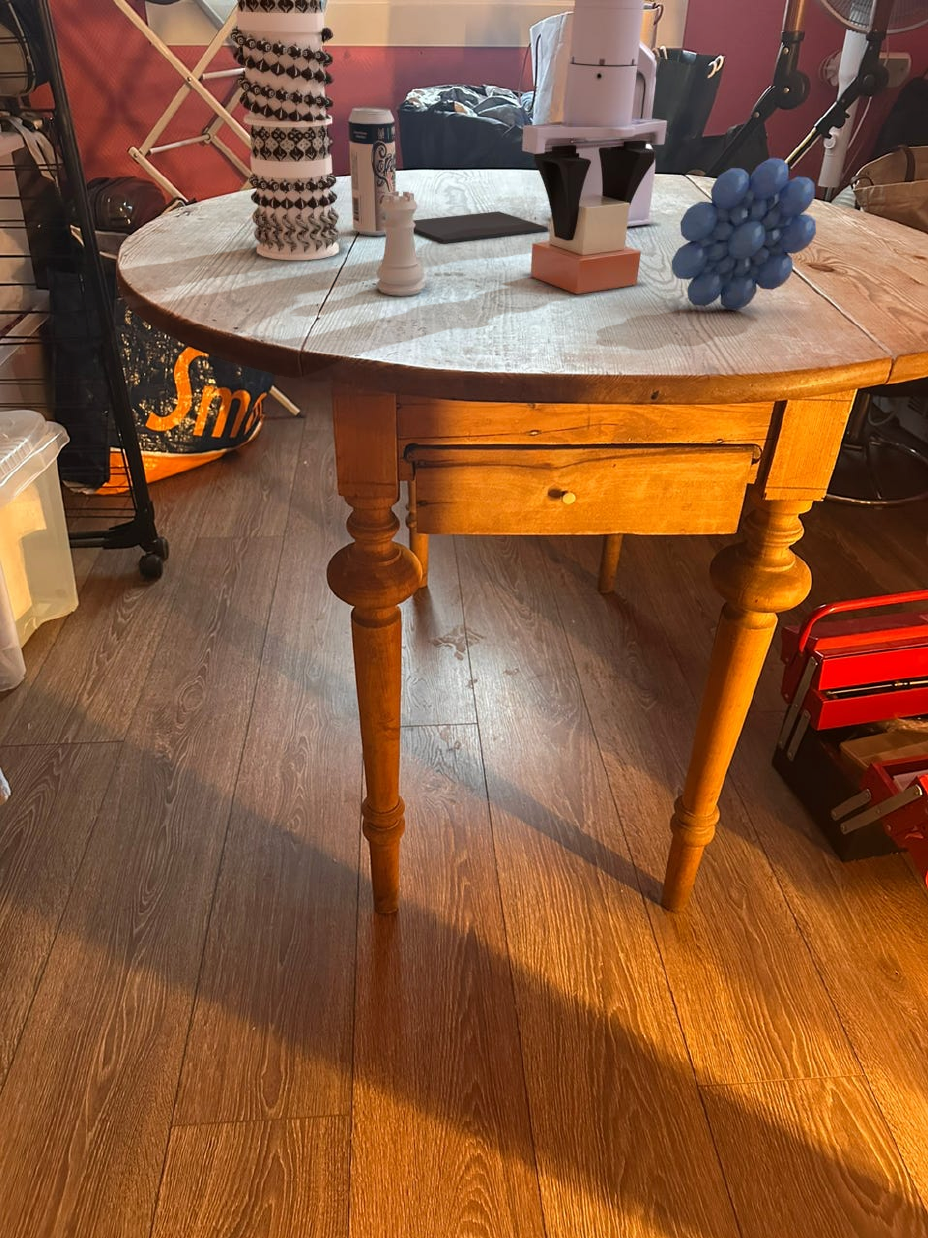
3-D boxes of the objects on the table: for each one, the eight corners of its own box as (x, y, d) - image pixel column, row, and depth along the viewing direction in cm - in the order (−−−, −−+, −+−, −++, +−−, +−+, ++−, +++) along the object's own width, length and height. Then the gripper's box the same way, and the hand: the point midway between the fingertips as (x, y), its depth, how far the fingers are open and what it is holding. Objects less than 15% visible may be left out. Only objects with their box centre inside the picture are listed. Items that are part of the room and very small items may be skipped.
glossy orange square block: (588, 267, 91) (591, 235, 90) (637, 284, 86) (641, 251, 85) (530, 275, 88) (532, 242, 86) (576, 294, 83) (579, 259, 81)
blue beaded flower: (782, 297, 84) (813, 151, 77) (806, 319, 78) (842, 163, 72) (655, 294, 84) (675, 147, 77) (671, 316, 78) (694, 160, 71)
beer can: (390, 238, 100) (387, 112, 93) (347, 235, 101) (342, 110, 94) (401, 228, 104) (399, 108, 97) (360, 226, 105) (355, 105, 98)
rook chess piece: (375, 283, 85) (372, 188, 80) (424, 283, 85) (423, 189, 81) (375, 296, 81) (372, 198, 77) (426, 296, 81) (426, 198, 77)
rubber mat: (498, 214, 112) (498, 211, 112) (547, 230, 105) (548, 227, 105) (397, 225, 105) (397, 221, 105) (443, 243, 99) (443, 239, 98)
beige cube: (590, 238, 88) (594, 193, 86) (624, 249, 85) (630, 202, 83) (548, 243, 86) (552, 197, 84) (582, 255, 83) (586, 207, 81)
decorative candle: (286, 236, 100) (263, -49, 85) (360, 246, 96) (348, -48, 82) (233, 253, 93) (199, -54, 79) (310, 265, 90) (288, -53, 75)
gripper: (563, 68, 71) (550, 252, 79) (699, 65, 78) (675, 236, 86) (511, 62, 76) (503, 236, 84) (644, 60, 83) (625, 221, 90)
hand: (587, 235), depth 85 cm, fingers closed on beige cube, 5 cm apart
